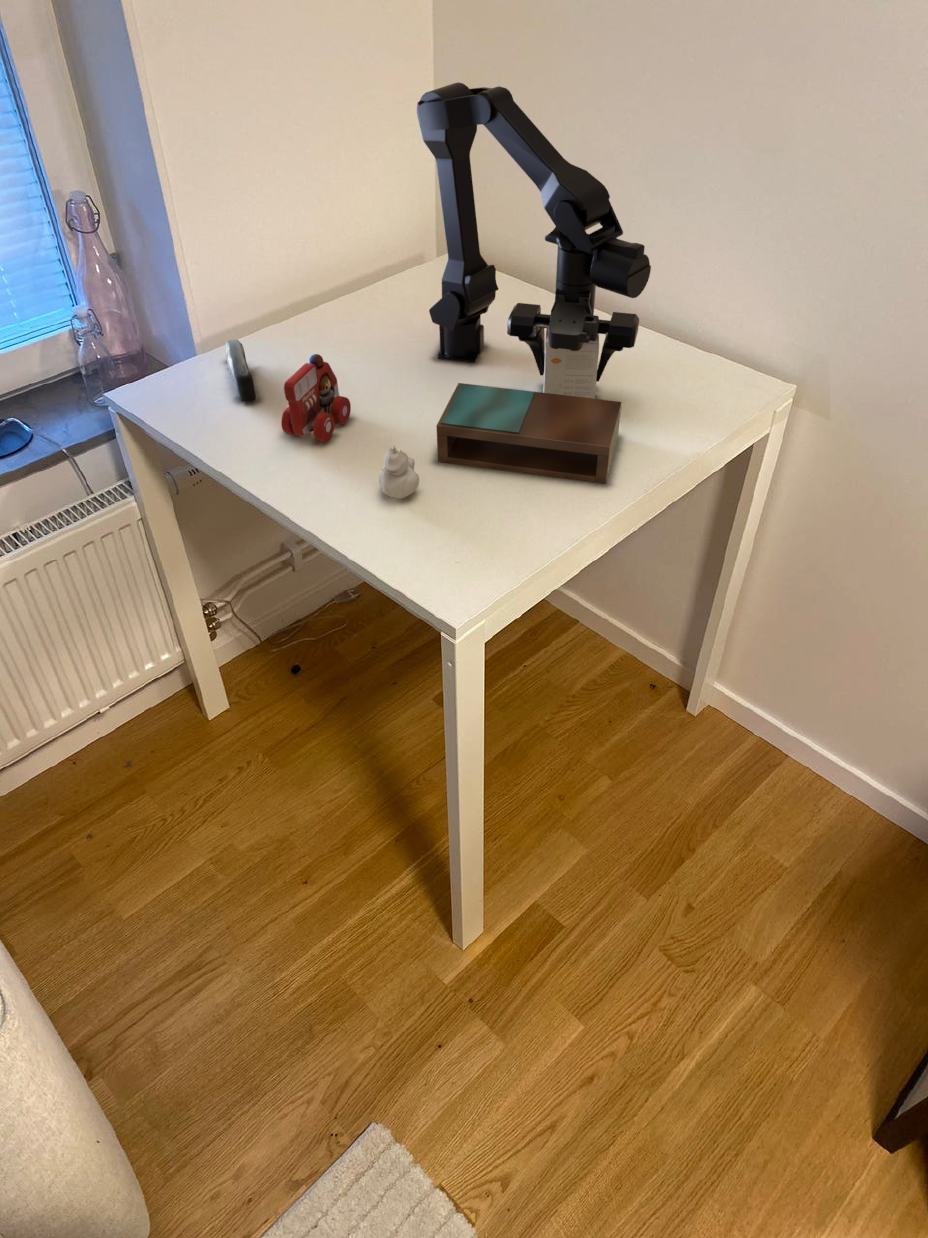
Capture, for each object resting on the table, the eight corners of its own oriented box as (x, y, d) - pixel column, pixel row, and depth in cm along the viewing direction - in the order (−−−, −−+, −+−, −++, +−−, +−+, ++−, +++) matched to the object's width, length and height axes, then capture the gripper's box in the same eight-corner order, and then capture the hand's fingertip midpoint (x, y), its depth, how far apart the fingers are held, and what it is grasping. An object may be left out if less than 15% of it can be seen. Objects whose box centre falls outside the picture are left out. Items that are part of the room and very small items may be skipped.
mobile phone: (254, 374, 142) (237, 329, 152) (235, 378, 142) (218, 332, 152) (260, 402, 146) (242, 357, 156) (241, 406, 145) (224, 360, 155)
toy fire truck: (358, 410, 143) (351, 347, 136) (318, 452, 135) (309, 388, 128) (318, 402, 145) (309, 339, 138) (277, 443, 137) (265, 379, 130)
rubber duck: (371, 499, 127) (366, 449, 121) (395, 473, 131) (391, 424, 125) (406, 509, 125) (402, 458, 119) (429, 483, 129) (427, 433, 124)
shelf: (437, 461, 133) (436, 424, 129) (459, 418, 141) (458, 381, 137) (605, 484, 128) (610, 445, 124) (617, 437, 137) (621, 400, 132)
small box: (594, 388, 147) (600, 325, 140) (594, 406, 143) (600, 342, 136) (543, 386, 148) (546, 323, 141) (542, 404, 144) (545, 341, 136)
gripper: (499, 295, 129) (498, 396, 139) (635, 308, 125) (623, 411, 136) (516, 263, 136) (514, 361, 147) (644, 274, 133) (633, 374, 144)
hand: (569, 377), depth 143 cm, fingers closed on small box, 8 cm apart
